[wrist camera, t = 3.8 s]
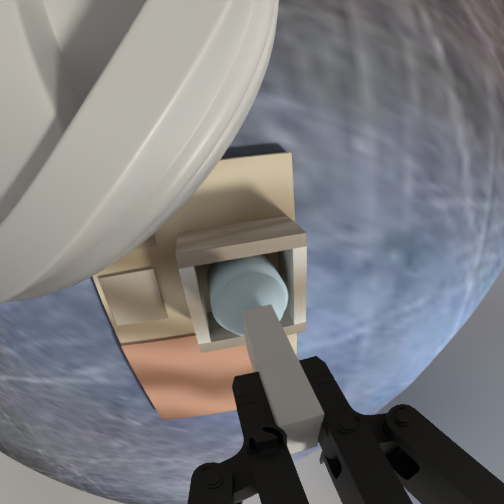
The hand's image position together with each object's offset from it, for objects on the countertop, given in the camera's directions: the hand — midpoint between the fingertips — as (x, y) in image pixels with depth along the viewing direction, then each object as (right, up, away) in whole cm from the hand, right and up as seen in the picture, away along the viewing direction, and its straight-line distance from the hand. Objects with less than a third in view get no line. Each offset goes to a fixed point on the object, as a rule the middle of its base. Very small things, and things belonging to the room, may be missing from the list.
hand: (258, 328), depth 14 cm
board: (-4, -1, +7) cm, 8 cm away
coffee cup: (-7, +13, 0) cm, 15 cm away
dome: (-1, +2, +4) cm, 5 cm away
